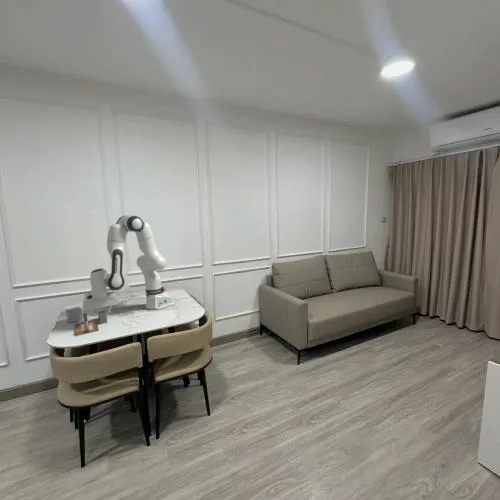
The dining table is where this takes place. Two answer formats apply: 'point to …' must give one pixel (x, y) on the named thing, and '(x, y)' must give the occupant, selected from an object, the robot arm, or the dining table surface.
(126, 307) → the dining table surface
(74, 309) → the medicine box
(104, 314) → the grey round-headed bar
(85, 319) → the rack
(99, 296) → the robot arm
